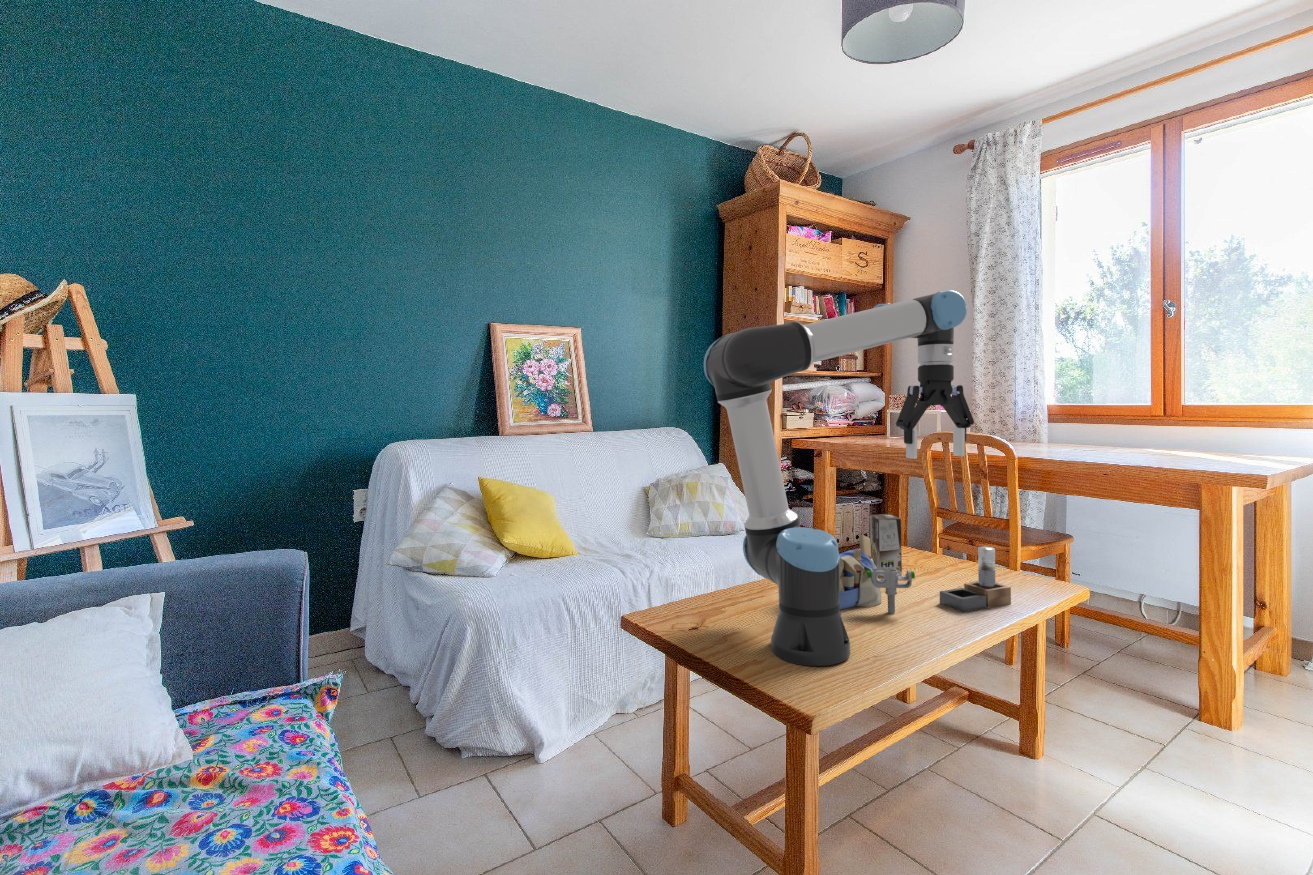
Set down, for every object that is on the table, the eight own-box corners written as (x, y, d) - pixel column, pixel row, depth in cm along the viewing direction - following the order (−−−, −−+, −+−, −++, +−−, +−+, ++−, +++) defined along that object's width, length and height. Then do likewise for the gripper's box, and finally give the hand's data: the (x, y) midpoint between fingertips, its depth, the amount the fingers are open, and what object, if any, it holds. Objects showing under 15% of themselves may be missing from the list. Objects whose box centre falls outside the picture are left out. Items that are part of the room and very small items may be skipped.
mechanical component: (916, 615, 144) (915, 572, 143) (869, 614, 146) (868, 571, 145) (913, 611, 146) (912, 568, 146) (867, 610, 148) (866, 568, 148)
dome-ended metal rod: (987, 604, 149) (986, 550, 148) (975, 600, 152) (974, 547, 152) (999, 602, 150) (998, 548, 150) (986, 598, 154) (986, 545, 153)
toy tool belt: (822, 626, 139) (820, 555, 138) (771, 608, 153) (769, 542, 152) (897, 603, 153) (896, 538, 152) (844, 588, 167) (843, 528, 166)
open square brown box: (988, 607, 147) (987, 590, 147) (964, 599, 154) (964, 583, 153) (1010, 603, 149) (1010, 587, 149) (986, 595, 156) (986, 579, 156)
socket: (962, 612, 145) (962, 599, 144) (939, 603, 151) (939, 591, 151) (986, 608, 147) (986, 595, 147) (962, 599, 153) (962, 587, 153)
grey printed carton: (903, 576, 176) (901, 518, 175) (879, 576, 176) (878, 519, 175) (892, 567, 185) (891, 513, 184) (870, 568, 185) (869, 513, 184)
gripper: (902, 362, 136) (902, 460, 137) (991, 363, 145) (990, 455, 145) (879, 365, 144) (879, 458, 144) (965, 365, 152) (965, 453, 153)
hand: (935, 457), depth 145 cm, fingers open, 13 cm apart
